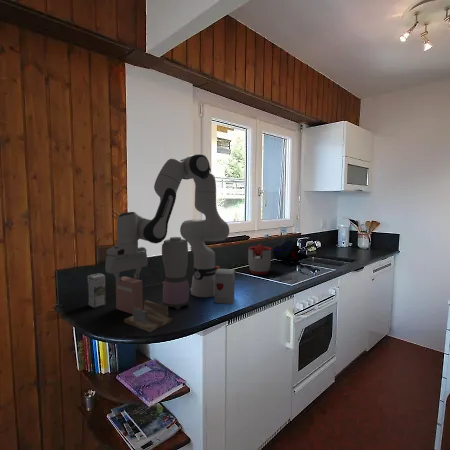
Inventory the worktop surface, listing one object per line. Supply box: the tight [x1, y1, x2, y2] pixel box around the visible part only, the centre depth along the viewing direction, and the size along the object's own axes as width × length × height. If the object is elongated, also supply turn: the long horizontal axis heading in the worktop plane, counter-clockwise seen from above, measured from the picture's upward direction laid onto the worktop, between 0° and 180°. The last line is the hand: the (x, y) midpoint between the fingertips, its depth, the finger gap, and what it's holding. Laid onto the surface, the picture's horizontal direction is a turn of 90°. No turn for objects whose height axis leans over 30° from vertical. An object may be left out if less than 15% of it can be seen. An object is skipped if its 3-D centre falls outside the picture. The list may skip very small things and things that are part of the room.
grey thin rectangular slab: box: [132, 307, 148, 325], centre depth 119 cm, size 1×7×5 cm, turn 56°
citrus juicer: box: [247, 243, 272, 276], centre depth 201 cm, size 16×17×20 cm
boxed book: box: [115, 275, 144, 315], centre depth 135 cm, size 5×12×14 cm, turn 56°
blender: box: [161, 236, 190, 310], centre depth 142 cm, size 16×12×32 cm
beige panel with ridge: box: [123, 299, 173, 333], centre depth 122 cm, size 12×15×6 cm
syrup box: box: [87, 273, 107, 309], centre depth 140 cm, size 6×6×14 cm
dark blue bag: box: [272, 239, 309, 267], centre depth 226 cm, size 21×26×30 cm
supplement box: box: [214, 268, 236, 305], centre depth 148 cm, size 9×9×15 cm
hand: (127, 279), depth 134 cm, fingers open, 8 cm apart
